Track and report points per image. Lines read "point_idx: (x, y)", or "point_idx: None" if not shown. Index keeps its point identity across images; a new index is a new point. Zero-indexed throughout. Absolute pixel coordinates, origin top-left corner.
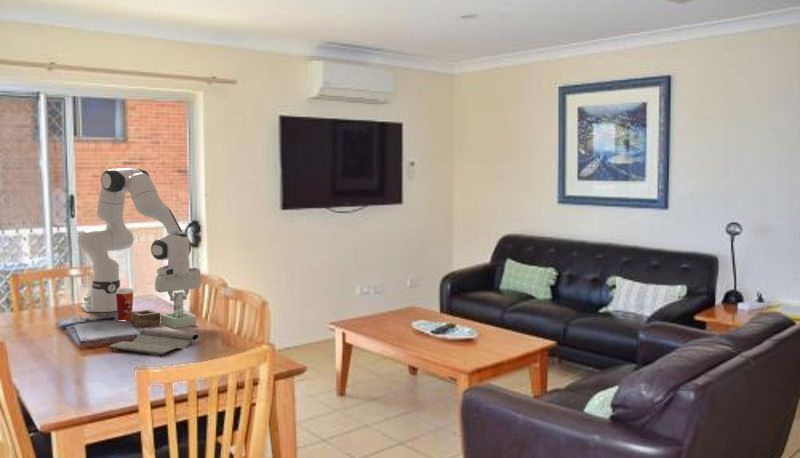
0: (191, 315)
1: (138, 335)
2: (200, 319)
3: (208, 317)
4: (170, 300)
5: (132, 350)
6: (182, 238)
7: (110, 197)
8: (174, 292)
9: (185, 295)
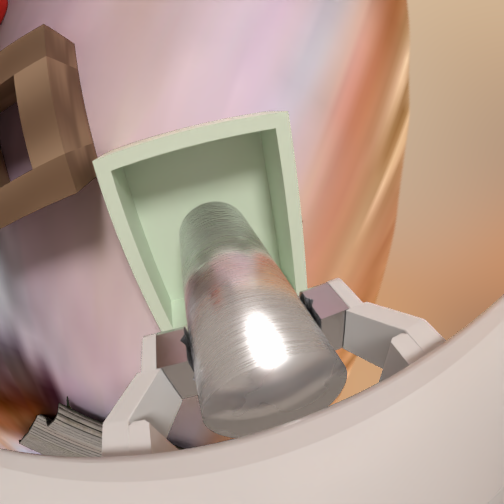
0: (294, 273)
1: (45, 418)
2: (363, 141)
3: (406, 120)
4: (144, 337)
5: None
6: None
7: None
8: (221, 392)
9: (346, 348)
